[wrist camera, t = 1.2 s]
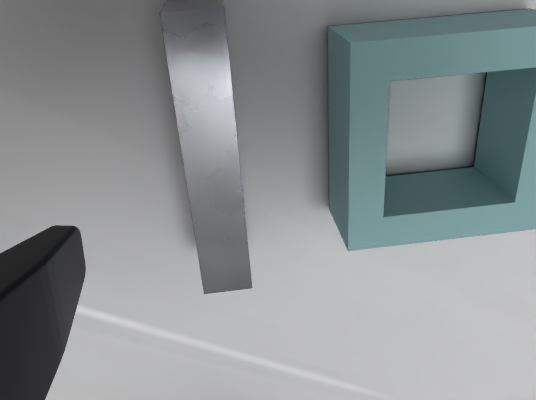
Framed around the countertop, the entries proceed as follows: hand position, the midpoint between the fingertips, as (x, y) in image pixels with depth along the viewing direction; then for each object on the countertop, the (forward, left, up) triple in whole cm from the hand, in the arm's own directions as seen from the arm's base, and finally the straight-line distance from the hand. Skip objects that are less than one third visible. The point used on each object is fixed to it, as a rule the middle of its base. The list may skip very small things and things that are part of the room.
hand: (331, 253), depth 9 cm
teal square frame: (+1, -7, -13) cm, 15 cm away
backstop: (-3, +1, -13) cm, 13 cm away
